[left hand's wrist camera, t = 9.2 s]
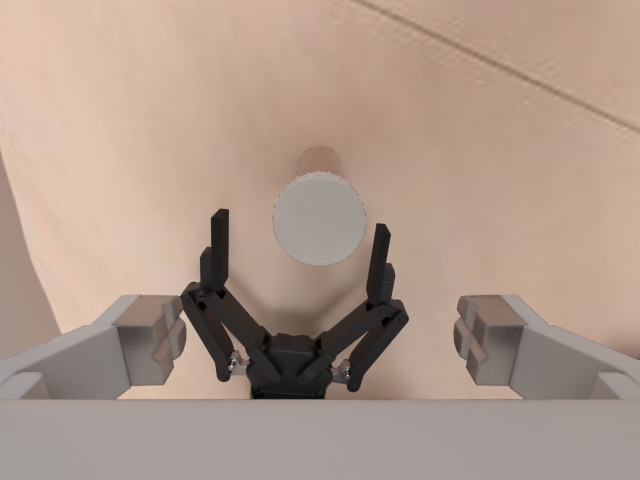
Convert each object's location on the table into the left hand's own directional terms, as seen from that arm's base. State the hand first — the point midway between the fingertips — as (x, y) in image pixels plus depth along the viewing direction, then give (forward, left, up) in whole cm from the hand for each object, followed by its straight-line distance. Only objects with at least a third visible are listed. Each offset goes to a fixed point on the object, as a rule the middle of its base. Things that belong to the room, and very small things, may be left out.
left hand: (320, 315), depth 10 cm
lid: (0, 0, -9) cm, 9 cm away
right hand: (+2, -3, -19) cm, 20 cm away
